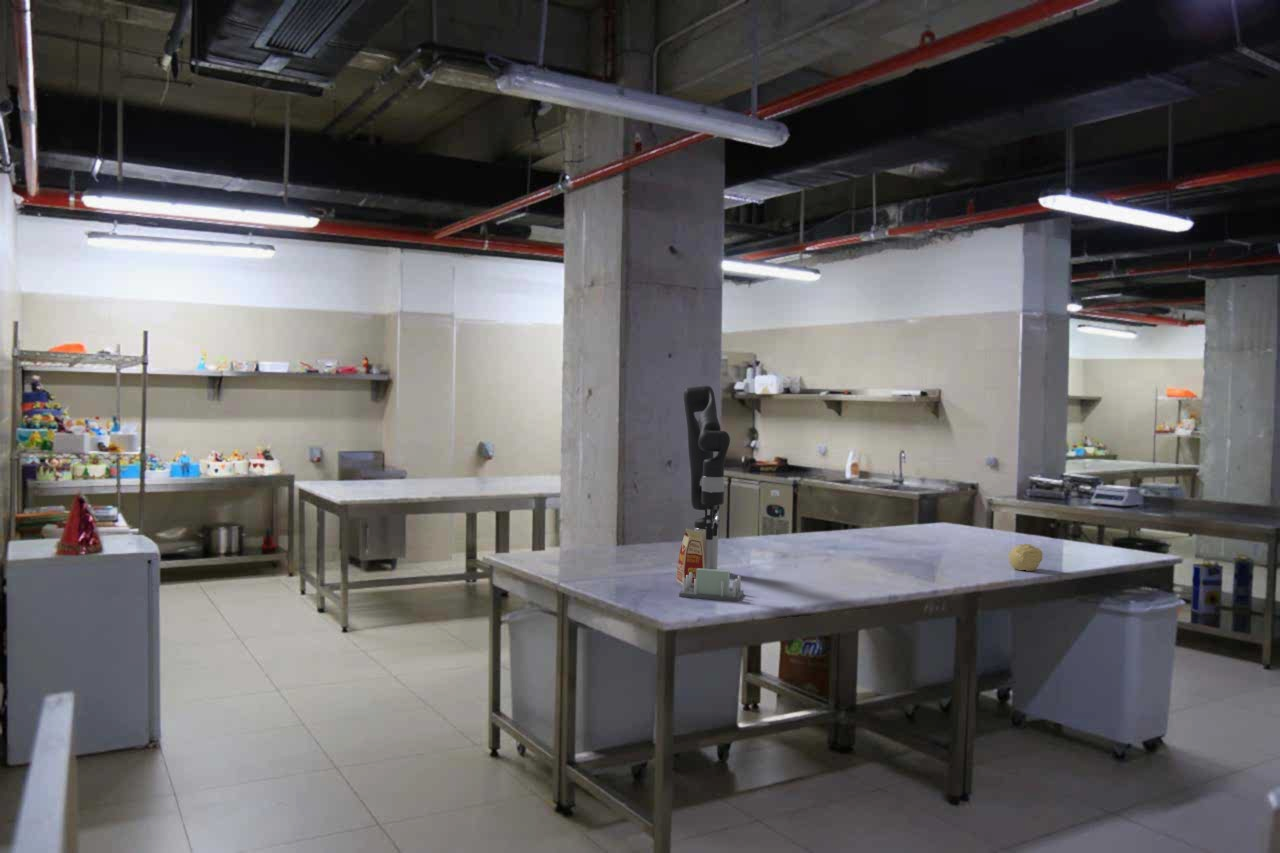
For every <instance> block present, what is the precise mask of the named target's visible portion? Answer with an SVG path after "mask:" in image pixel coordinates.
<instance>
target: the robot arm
mask: <svg viewBox="0 0 1280 853" xmlns="http://www.w3.org/2000/svg"><path fill="white" fill-rule="evenodd" d="M683 402H684V411H685V417H686V425H687V426H686V427H687V441H688V442H687V445H688V447H687V448H688V457H689V459H688V460H689V467H690V498H691V506H692V508H693V509H694V510H698V511H699V510H700V511H704V517H701V518H698V519H695V521H694V529H693V531H700V532H703V534H702V541H703V550H704V567H705V569H717V570H718V561H719V560H718V557H719V556H718V553H719V552H718V550H719V523H720V506H722V505H723V504H724V503H725V476H724V472H725V461H726V457H727V454H728V450H729V447H730V443H731V438H730V434H729V433H728V432H727V431H726V430H721V425H720V422H719V419H718V415H717V404H716V397H715V392H714V390H713V388H712V387H711V386H710V385H702V386H691V387H687V388H685V389H684V392H683ZM699 412H701V413H700V414H699V416H698V420H697V417H696V416H695V413H699ZM714 452H717V455H716V456H714ZM701 480H702V481H701Z"/></svg>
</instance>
